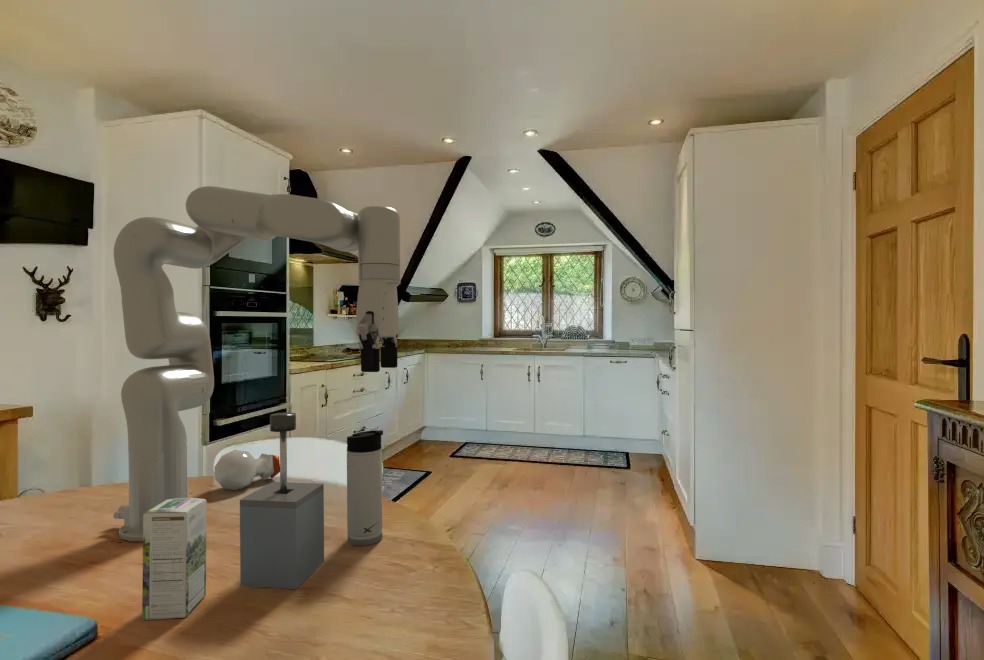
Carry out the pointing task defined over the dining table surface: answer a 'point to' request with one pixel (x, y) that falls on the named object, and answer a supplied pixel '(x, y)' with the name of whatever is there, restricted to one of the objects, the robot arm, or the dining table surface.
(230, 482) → the potion bottle
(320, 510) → the grey box with hole
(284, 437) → the plunger
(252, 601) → the dining table surface
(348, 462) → the travel mug
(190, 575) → the syrup box
